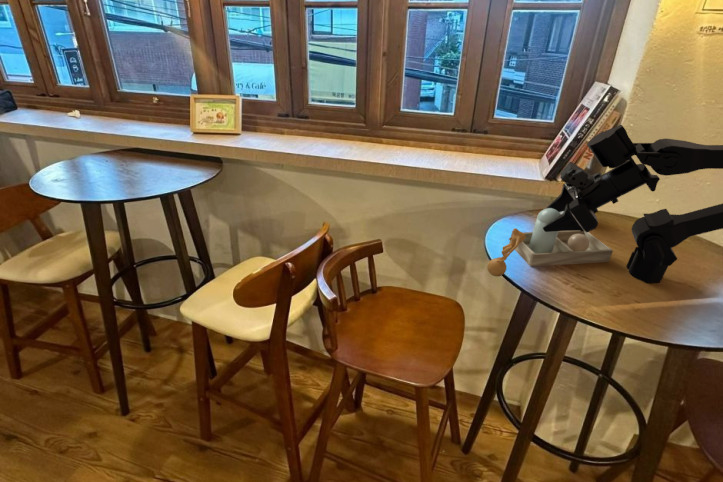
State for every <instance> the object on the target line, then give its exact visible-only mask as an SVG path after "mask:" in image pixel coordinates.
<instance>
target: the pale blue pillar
mask: <svg viewBox="0 0 723 482" xmlns="http://www.w3.org/2000/svg"><path fill="white" fill-rule="evenodd" d="M560 215H561V214H560V213H559V211H557V210H556V209H553V208H547V207H546V209H545V208H544V209H542V210H540V211H539V212H538V214H537V216H536V219H535V223H534V226H533V231H532V232H533V234H532V237H531V241H530V244H529V248H530V249H531V250H532V251H533V252H534V253H551V252H552V251H553V248H554V245H555V241H556V238H557V235H558V232H559V231H553V232H545V231H544V230H543V227H544V226H546V225H547V224H548V223H550V222H551V221H553V220H554V219H556V218H557V217H558V216H560Z"/></svg>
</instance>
